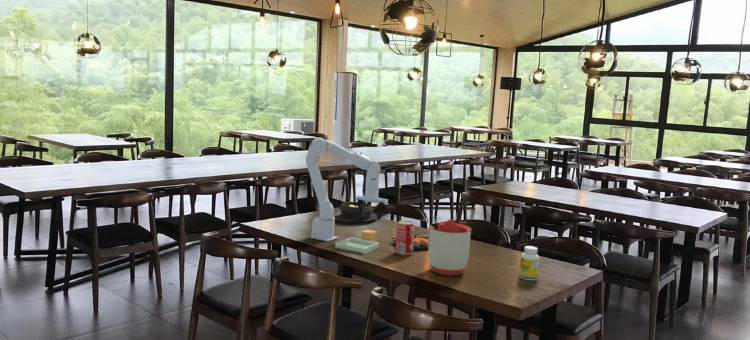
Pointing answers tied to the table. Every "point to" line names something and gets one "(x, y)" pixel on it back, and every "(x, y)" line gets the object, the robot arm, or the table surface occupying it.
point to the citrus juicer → (449, 247)
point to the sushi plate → (418, 242)
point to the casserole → (354, 213)
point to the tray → (357, 245)
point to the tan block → (369, 235)
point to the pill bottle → (529, 263)
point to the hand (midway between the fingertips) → (370, 218)
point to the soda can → (404, 238)
